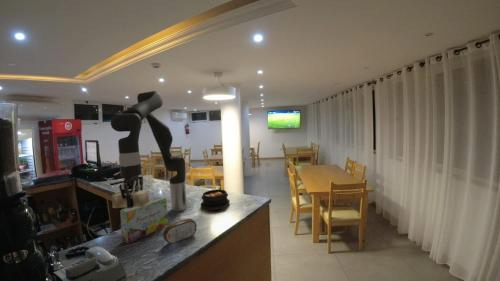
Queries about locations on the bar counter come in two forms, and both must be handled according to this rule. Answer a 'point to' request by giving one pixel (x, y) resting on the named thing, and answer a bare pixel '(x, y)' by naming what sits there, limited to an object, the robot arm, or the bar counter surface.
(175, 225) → the tin
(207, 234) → the bar counter surface
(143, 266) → the bar counter surface
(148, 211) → the snack box
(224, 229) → the bar counter surface
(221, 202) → the casserole
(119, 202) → the beech block
